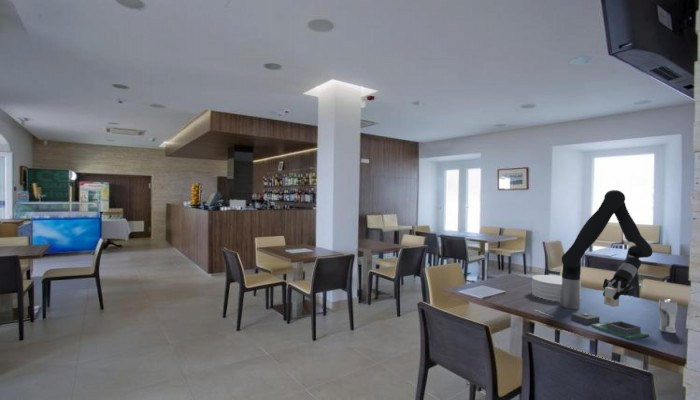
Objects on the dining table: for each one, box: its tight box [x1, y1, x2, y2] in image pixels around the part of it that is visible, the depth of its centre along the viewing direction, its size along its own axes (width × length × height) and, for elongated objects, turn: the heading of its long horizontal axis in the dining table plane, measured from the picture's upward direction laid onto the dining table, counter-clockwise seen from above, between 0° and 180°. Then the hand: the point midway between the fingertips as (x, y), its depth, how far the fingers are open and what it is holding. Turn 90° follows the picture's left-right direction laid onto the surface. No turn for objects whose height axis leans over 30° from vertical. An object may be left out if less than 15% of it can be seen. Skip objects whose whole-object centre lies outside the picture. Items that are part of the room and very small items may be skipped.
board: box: [590, 320, 650, 340], centre depth 177 cm, size 18×14×4 cm
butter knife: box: [534, 309, 555, 318], centre depth 197 cm, size 1×27×3 cm
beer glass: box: [658, 298, 678, 334], centre depth 178 cm, size 7×7×15 cm
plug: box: [603, 287, 620, 307], centre depth 190 cm, size 4×5×9 cm
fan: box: [570, 311, 600, 326], centre depth 191 cm, size 9×9×4 cm
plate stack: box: [531, 274, 582, 303], centre depth 238 cm, size 28×28×12 cm
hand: (609, 297), depth 190 cm, fingers closed on plug, 4 cm apart
